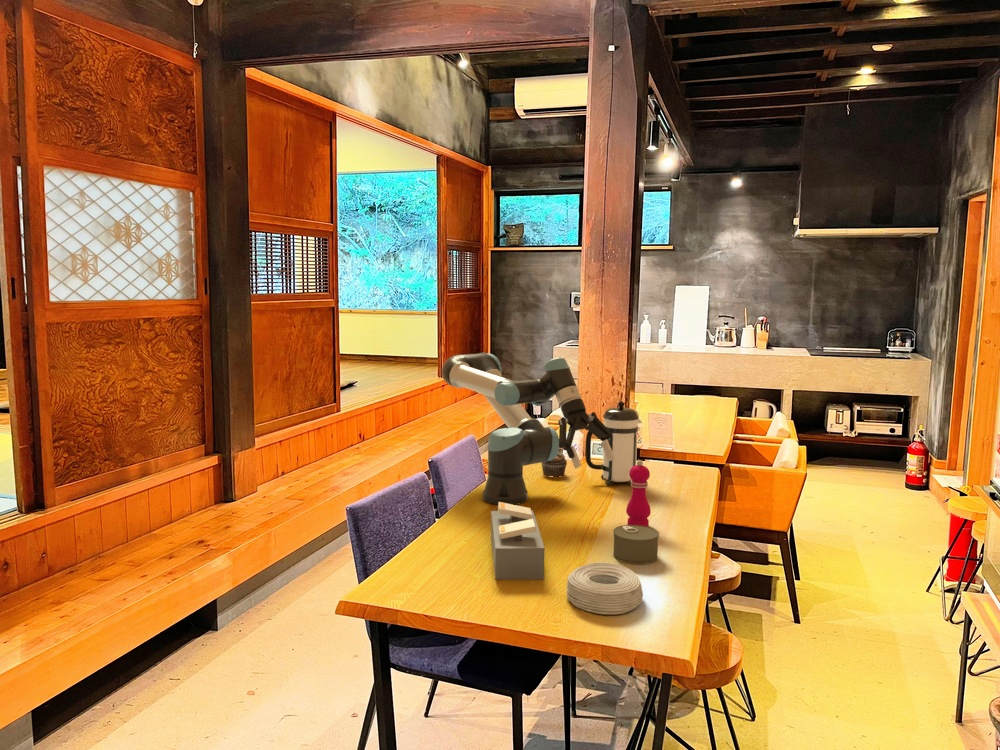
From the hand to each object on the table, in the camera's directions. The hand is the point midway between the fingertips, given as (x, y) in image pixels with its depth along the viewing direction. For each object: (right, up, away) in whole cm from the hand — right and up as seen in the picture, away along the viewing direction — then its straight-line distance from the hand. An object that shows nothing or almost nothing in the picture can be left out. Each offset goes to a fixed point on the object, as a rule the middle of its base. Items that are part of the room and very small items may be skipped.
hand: (595, 463), depth 234 cm
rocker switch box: (-26, -20, -33) cm, 47 cm away
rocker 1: (-26, -10, -30) cm, 41 cm away
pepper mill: (+12, -18, -9) cm, 23 cm away
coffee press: (+12, -12, +39) cm, 42 cm away
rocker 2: (-25, -12, -44) cm, 53 cm away
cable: (-6, -24, -62) cm, 67 cm away
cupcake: (-9, -10, +49) cm, 51 cm away
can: (+6, -21, -35) cm, 41 cm away
